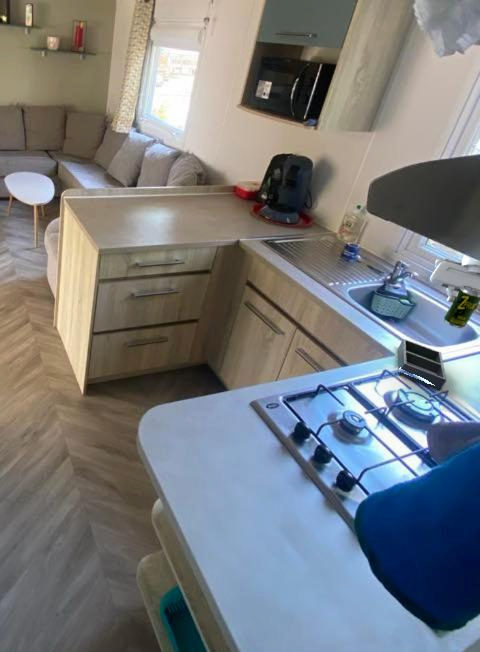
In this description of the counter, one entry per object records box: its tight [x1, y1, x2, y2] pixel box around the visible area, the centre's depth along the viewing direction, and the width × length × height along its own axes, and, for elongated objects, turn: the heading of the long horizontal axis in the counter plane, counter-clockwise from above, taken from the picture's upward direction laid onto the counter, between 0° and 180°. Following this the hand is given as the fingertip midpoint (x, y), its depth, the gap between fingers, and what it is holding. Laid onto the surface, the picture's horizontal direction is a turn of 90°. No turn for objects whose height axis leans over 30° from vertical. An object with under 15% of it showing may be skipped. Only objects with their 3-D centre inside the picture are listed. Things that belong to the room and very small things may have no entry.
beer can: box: [443, 286, 480, 329], centre depth 126 cm, size 5×5×12 cm
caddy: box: [397, 338, 447, 392], centre depth 125 cm, size 10×17×4 cm, turn 145°
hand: (464, 306), depth 125 cm, fingers closed on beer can, 5 cm apart
